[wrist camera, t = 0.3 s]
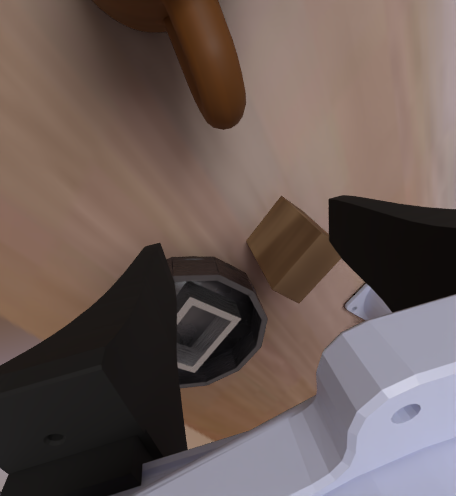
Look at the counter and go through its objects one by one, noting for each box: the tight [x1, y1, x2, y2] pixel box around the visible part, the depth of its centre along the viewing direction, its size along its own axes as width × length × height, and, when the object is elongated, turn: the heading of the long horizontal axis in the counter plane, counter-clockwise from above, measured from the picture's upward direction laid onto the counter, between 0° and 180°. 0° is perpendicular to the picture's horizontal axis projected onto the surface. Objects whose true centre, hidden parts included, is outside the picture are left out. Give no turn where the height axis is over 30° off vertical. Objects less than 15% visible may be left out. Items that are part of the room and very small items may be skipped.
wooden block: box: [246, 196, 341, 303], centre depth 20 cm, size 2×4×6 cm, turn 144°
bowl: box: [167, 256, 267, 388], centre depth 25 cm, size 13×13×3 cm
